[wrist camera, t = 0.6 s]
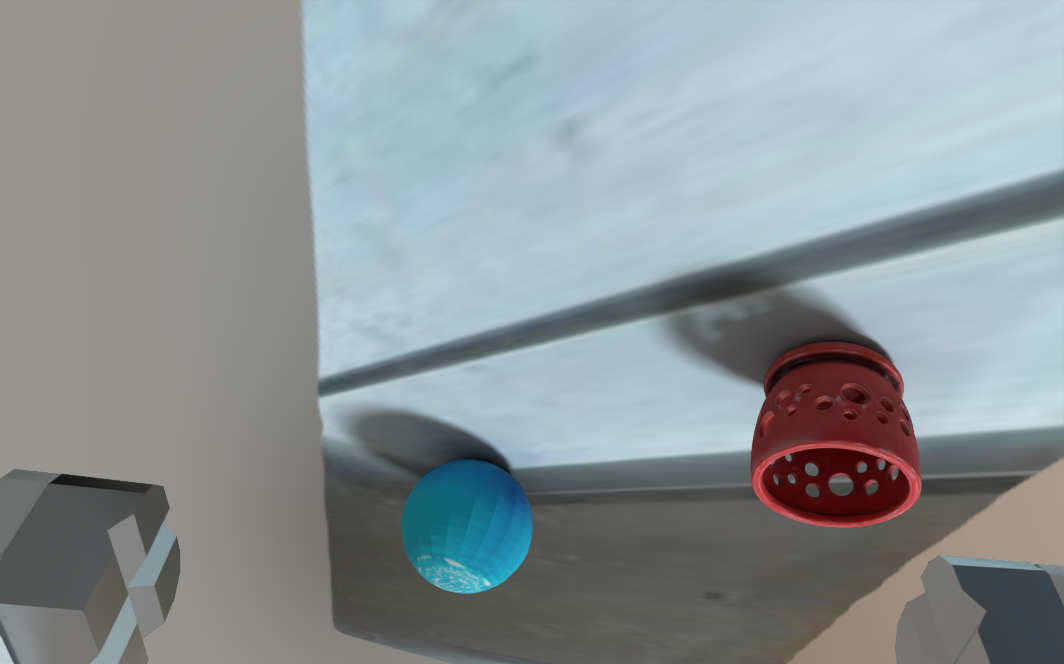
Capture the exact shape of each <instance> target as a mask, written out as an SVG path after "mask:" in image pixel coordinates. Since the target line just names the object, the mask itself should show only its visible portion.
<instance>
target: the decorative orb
mask: <svg viewBox="0 0 1064 664" xmlns="http://www.w3.org/2000/svg"><path fill="white" fill-rule="evenodd" d="M401 529H402V538H403V543H404V547H405V551H406V554H407V556H408V558H409V560H410V562H411V563H412V564H413V566H414V567H415V568H416V570H417V571H418V572H419V573H420V574H421V575H422V576H423V577H424V578H425V579H426V580H428V581H429V582H430V583H432V584H434V585H436V586H438V587H440V588H442V589H444V590H447V591H451V592H456V593H476V592H481V591H484V590H488V589H490V588H493V587H495V586H497V585H499V584H500V583H502V582H503V581H505V580H506V579H507V578H508V577H509V576H510V575H511V574H512V573H513V572H514V571H515V570H516V569H517V568H518V567H519V566H520V564H521V563H522V562H523V560H524V558H525V556H526V554H527V552H528V549H529V546H530V542H531V536H532V512H531V507H530V504H529V502H528V499H527V497H526V495H525V493H524V491H523V490H522V488H521V486H520V485H519V483H518V482H517V481H516V480H515V479H514V478H513V477H512V476H511V475H510V474H509V473H507V472H506V471H505V470H503V469H501V468H500V467H498V466H496V465H494V464H492V463H489V462H486V461H482V460H477V459H461V460H454V461H450V462H447V463H445V464H443V465H441V466H439V467H437V468H435V469H433V470H431V471H430V472H428V473H427V474H426V475H424V476H423V477H422V478H421V479H420V481H419V482H418V483H417V484H416V486H415V487H414V489H413V491H412V492H411V494H410V495H409V497H408V499H407V501H406V504H405V506H404V509H403V514H402V521H401Z"/></svg>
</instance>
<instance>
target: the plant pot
mask: <svg viewBox="0 0 1064 664" xmlns="http://www.w3.org/2000/svg"><path fill="white" fill-rule="evenodd" d="M764 392H765V396H766V399H765V401H764V403H763V406H762V408H761V411H760V413H759V416H758V419H757V423H756V427H755V431H754V436H753V442H752V451H751V483H752V487H753V490H754V492H755V494H756V495H757V497H758V498H759V499H760V500H761V501H762V502H763V503H764V504H765V505H767V506H768V507H769V508H771V509H772V510H774V511H776V512H778V513H780V514H782V515H784V516H787V517H789V518H792V519H795V520H797V521H801V522H804V523H809V524H814V525H820V526H829V527H858V526H866V525H871V524H876V523H880V522H883V521H886V520H889V519H892V518H894V517H896V516H898V515H900V514H902V513H903V512H905V511H906V510H908V509H909V508H910V507H911V506H912V505H913V504H914V503H915V502H916V501H917V499H918V497H919V495H920V492H921V468H920V458H919V451H918V446H917V442H916V438H915V434H914V430H913V424H912V421H911V418H910V415H909V413H908V410H907V408H906V406H905V404H904V402H903V400H902V397H903V393H904V384H903V380H902V377H901V375H900V373H899V372H898V370H897V369H896V368H895V366H894V365H893V364H892V363H891V362H890V361H889V360H887V359H886V358H885V357H883V356H882V355H880V354H879V353H877V352H875V351H873V350H871V349H869V348H866V347H863V346H860V345H856V344H852V343H846V342H833V341H830V342H818V343H812V344H808V345H803V346H800V347H798V348H795V349H793V350H791V351H789V352H787V353H785V354H784V355H782V356H781V357H780V358H778V359H777V360H776V361H775V362H774V363H773V364H772V365H771V367H770V368H769V370H768V372H767V374H766V376H765V380H764ZM787 454H790V455H791V457H792V460H791V462H789V461H787V460H786V459H785V455H787ZM882 460H884V461H885V464H886V465H885V467H884V469H882V470H879V468H878V467H879V463H880V462H881V461H882ZM773 461H775V462H774V464H773V465H771V463H772V462H773ZM807 463H812V464H815V465H816V466H817V468H818V471H819V472H818V475H817V476H810V475H808V474H807V473H806V471H805V465H806V464H807ZM862 463H866V464H867V470H866V471H865V472H863V473H859V472H858V470H857V469H858V466H859V465H860V464H862ZM896 467H898V476H897V478H896V479H895V480H894V481H893V479H892V473H893V471H894V469H895V468H896ZM788 474H791V475H793V476H794V477H795V479H796V483H795V484H792V483H790V482H789V480H788V477H787V476H788ZM773 475H775V476H776V477H777V479H778V485H777V484H776V483H775V482H774V480H773ZM837 475H843V476H846V477H849V478H850V479H851V480H852V482H853V485H854V487H853V490H852V492H851V493H850V494H848V495H846V496H838V495H836V494H834V493H833V492H832V491H831V490H830V488H829V481H830V479H831V478H832V477H834V476H837ZM873 482H877V483H878V485H879V487H878V490H877V491H876V492H875V493H873V494H867V491H866V490H867V487H868V486H869V485H870V484H871V483H873ZM807 485H813V486H815V487H817V489H818V490H819V496H818V497H815V498H814V497H810V496H809V495H808V494H807V493H806V491H805V488H806V486H807Z"/></svg>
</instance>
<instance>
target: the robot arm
mask: <svg viewBox="0 0 1064 664" xmlns="http://www.w3.org/2000/svg"><path fill="white" fill-rule="evenodd" d="M169 508H170V507H169V504H168V501H167V498H166V494H165V491H164V487H163V486H158V485H153V484H145V483H136V482H128V481H120V480H111V479H103V478H94V477H86V476H77V475H69V474H57V473H48V472H38V471H28V470H19V469H14V470H12V471H11V472H9V473H8V474H6V475H5V476H3V477H2V478H0V664H147V662H148V657H147V654H146V651H145V647H144V643H143V640H142V639H143V638H145V637H146V636H147V635H148V634H150V633H151V632H153V631H154V630H155V629H156V628H158V627H159V626H160V625H162V624H163V623H164V622H165V620H166V617H167V615H168V613H169V610H170V608H171V605H172V603H173V601H174V598H175V593H176V588H177V584H178V579H179V574H180V549H179V545H178V540H177V536H176V535H175V534H174V533H173V532H172V531H170V530H169V529H168V528H167V527H166V526H165V525H163V524H162V523H163V521H164V519H165V516H166V515H167V512H168V510H169ZM921 579H922V582H923V585H924V588H925V591H926V593H924V594H922V595H920V596H918V597H917V598H915V599H913V600H911V601H909V602H908V603H907V604H906V606H905V608H904V610H903V613H902V615H901V617H900V619H899V621H898V625H897V634H896V644H895V650H896V659H897V664H1064V566H1055V565H1044V564H1031V563H1029V562H1017V561H1005V560H993V559H980V558H967V557H955V556H942V555H939V556H937V557H936V558H934V559H933V560H931V561H930V562H929V563H928V565H927V567H926V568H925V570H924V572H923V574H922V576H921Z"/></svg>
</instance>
